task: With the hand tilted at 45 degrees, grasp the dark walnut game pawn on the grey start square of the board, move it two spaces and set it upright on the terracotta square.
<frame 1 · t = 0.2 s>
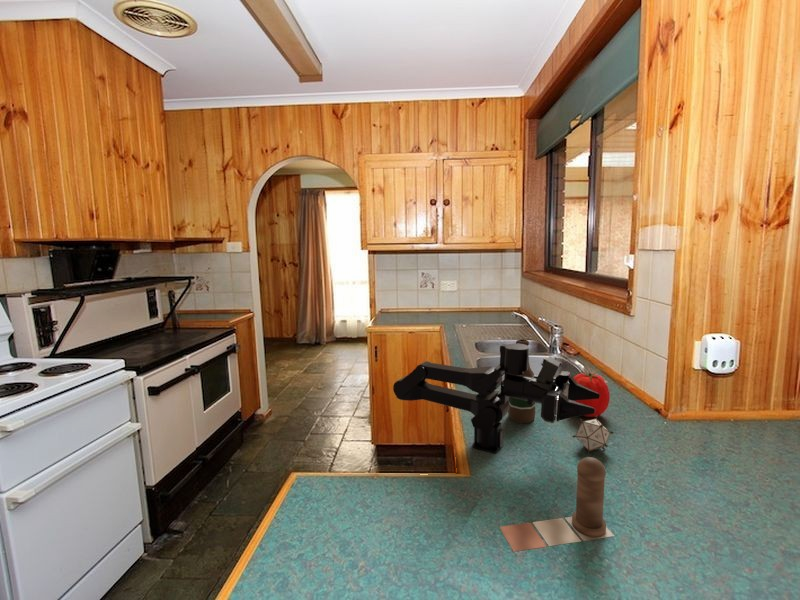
hand: (597, 403, 89), 17 cm above the countertop, tool horizontal, fingers open, 9 cm apart
game die: (591, 449, 102), on the countertop
tomato: (587, 415, 121), on the countertop
board: (555, 536, 72), on the countertop
beer bottle: (521, 418, 120), on the countertop
pawn: (588, 526, 73), point 1 cm above the countertop, touching board
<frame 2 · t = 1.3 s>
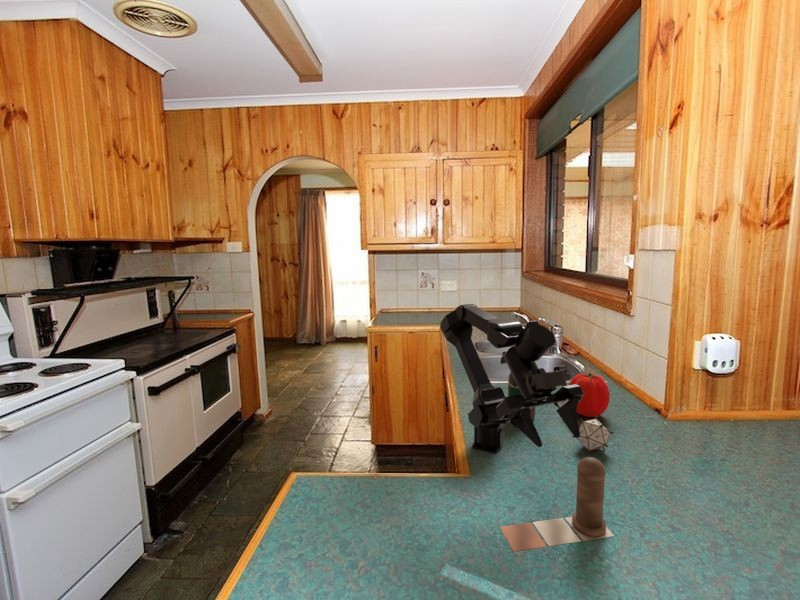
hand: (559, 441, 79), 14 cm above the countertop, tool tilted 45°, fingers open, 9 cm apart
nothing on the countertop moved.
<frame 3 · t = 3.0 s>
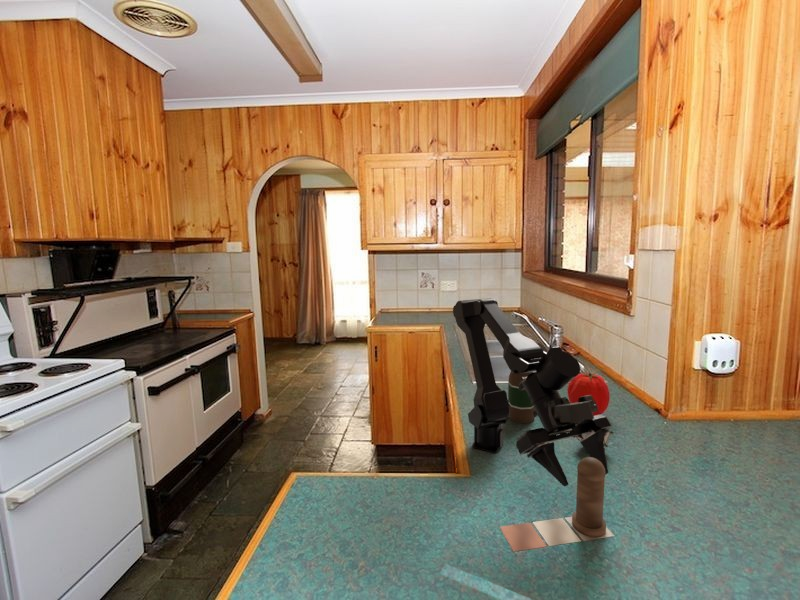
hand: (586, 479, 73), 10 cm above the countertop, tool tilted 45°, fingers open, 9 cm apart
nothing on the countertop moved.
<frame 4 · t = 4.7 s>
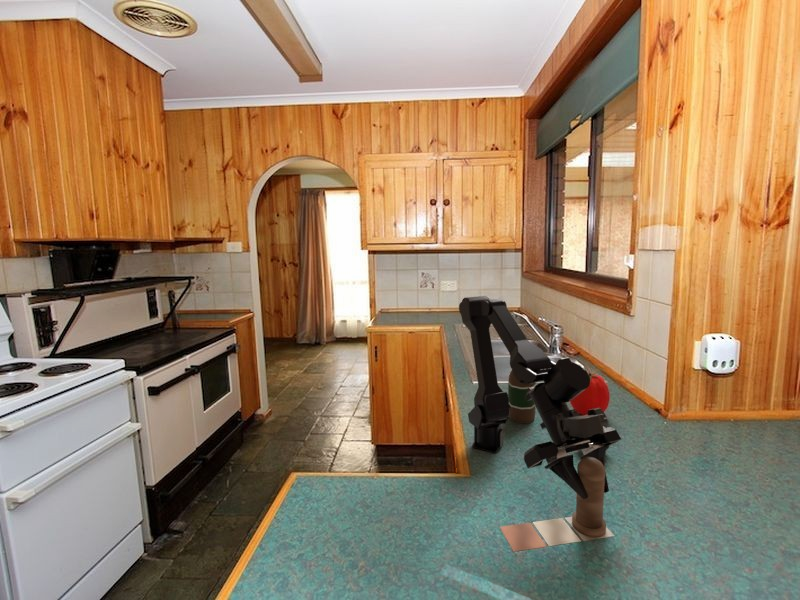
hand: (596, 495, 71), 8 cm above the countertop, tool tilted 45°, fingers closed on pawn, 4 cm apart
pawn: (588, 526, 73), point 1 cm above the countertop, touching board, gripper
everything else where it was.
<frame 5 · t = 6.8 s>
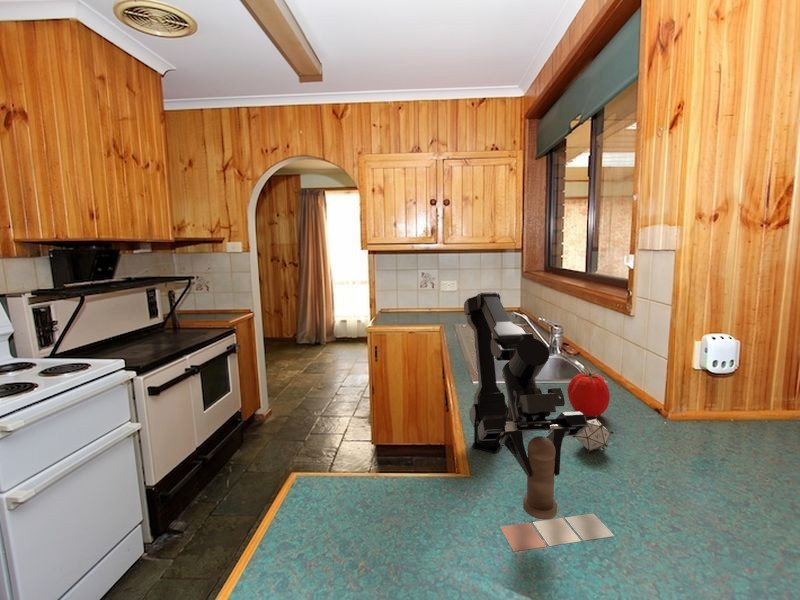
hand: (543, 476, 68), 13 cm above the countertop, tool tilted 45°, fingers closed on pawn, 4 cm apart
pawn: (539, 508, 71), point 6 cm above the countertop, touching gripper
everything else where it was.
when the fingers open (10 cm above the countertop, at t = 8.8 s): pawn drops 1 cm, resting on board.
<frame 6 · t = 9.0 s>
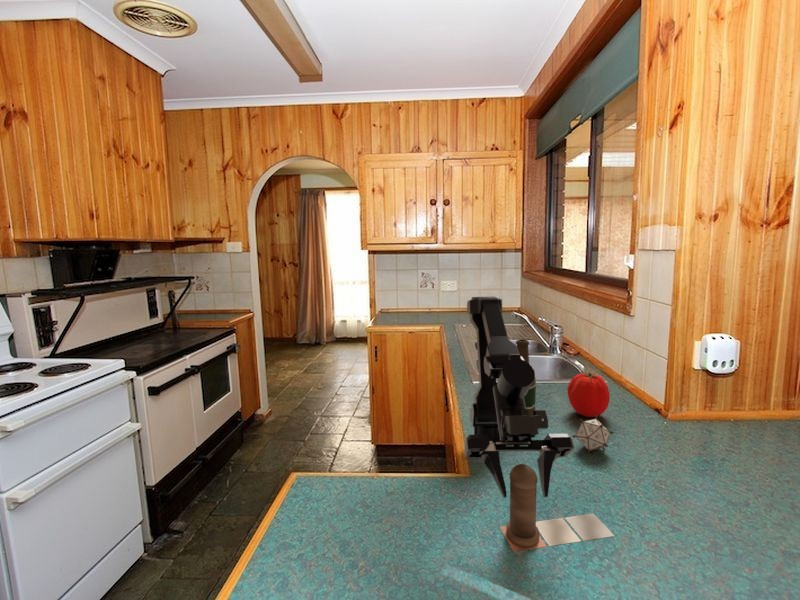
hand: (525, 497, 69), 10 cm above the countertop, tool tilted 45°, fingers open, 7 cm apart
pawn: (522, 535, 71), point 1 cm above the countertop, touching board
everything else where it was.
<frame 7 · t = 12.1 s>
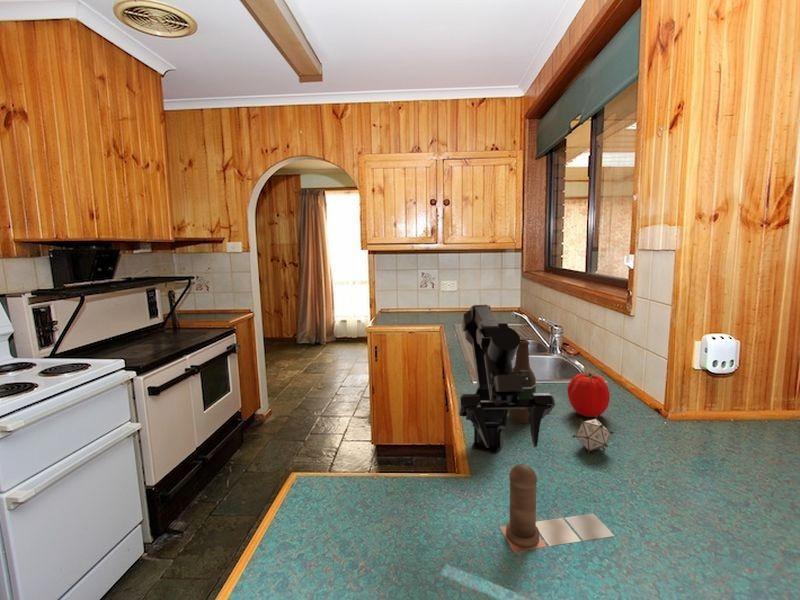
hand: (511, 446, 78), 13 cm above the countertop, tool tilted 45°, fingers open, 9 cm apart
nothing on the countertop moved.
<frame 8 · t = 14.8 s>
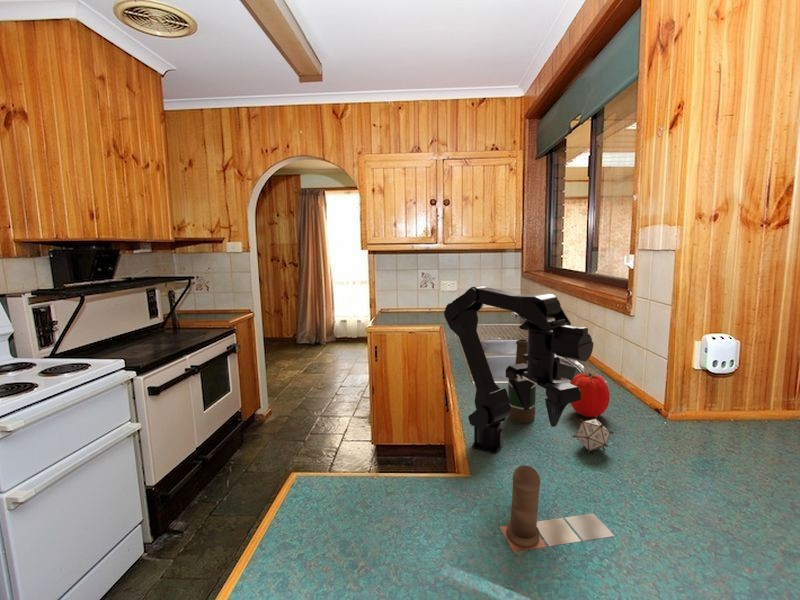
hand: (539, 417, 91), 13 cm above the countertop, tool pointing down, fingers open, 9 cm apart
nothing on the countertop moved.
at the end: pawn 0.0 cm from the target spot, point 1.2 cm above the countertop; pawn tilted 3°; the gripper is holding nothing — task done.
